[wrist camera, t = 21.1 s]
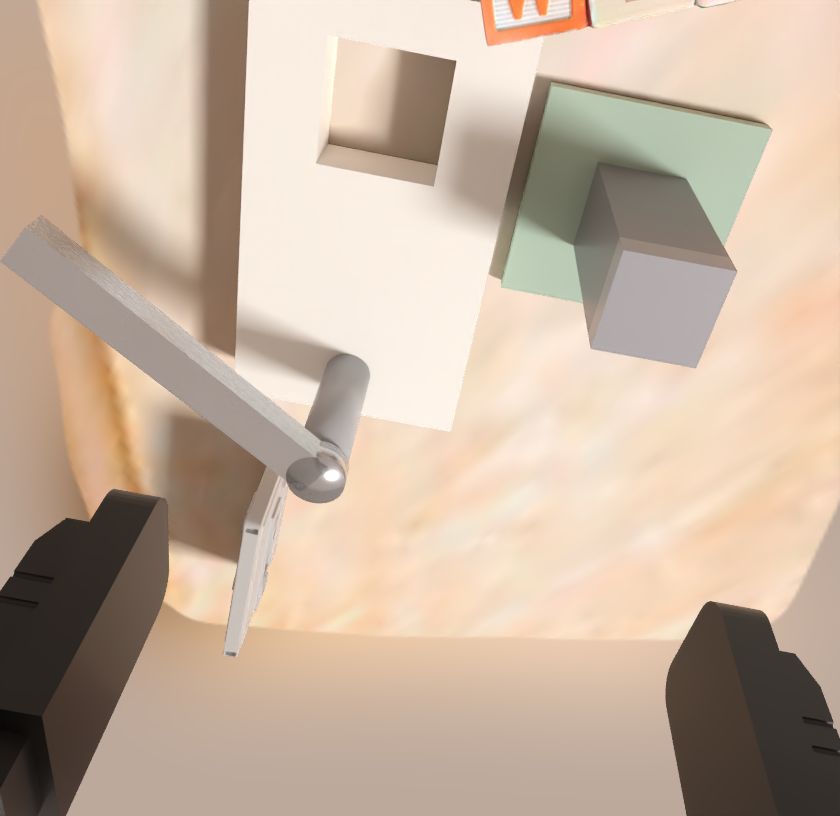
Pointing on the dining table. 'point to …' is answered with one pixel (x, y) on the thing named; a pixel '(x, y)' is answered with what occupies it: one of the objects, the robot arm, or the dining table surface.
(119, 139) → the dining table surface
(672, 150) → the mat
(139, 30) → the dining table surface
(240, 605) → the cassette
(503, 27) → the stack of blocks
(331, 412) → the socket block
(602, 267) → the plug
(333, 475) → the clip
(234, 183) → the dining table surface
